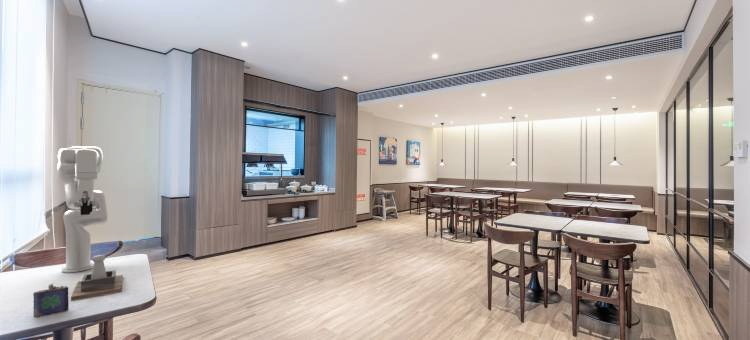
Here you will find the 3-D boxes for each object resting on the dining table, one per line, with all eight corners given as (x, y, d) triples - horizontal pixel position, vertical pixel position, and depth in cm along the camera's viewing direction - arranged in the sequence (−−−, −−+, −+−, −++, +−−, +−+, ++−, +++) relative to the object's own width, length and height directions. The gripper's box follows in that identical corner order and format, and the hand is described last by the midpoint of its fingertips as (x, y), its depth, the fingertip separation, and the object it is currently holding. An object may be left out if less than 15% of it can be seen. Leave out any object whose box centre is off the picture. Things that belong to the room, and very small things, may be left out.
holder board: (78, 284, 149) (78, 272, 149) (122, 277, 159) (122, 266, 159) (70, 300, 132) (70, 287, 132) (121, 291, 141) (121, 279, 141)
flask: (32, 318, 116) (32, 288, 116) (34, 315, 119) (34, 286, 119) (68, 311, 122) (68, 282, 122) (69, 308, 125) (69, 280, 124)
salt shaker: (97, 287, 142) (97, 257, 142) (86, 286, 143) (86, 256, 143) (110, 282, 148) (110, 254, 147) (100, 281, 149) (100, 253, 149)
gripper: (78, 175, 155) (78, 212, 156) (72, 177, 141) (72, 216, 142) (98, 175, 160) (98, 210, 160) (95, 176, 146) (95, 215, 146)
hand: (86, 213), depth 151 cm, fingers open, 9 cm apart
